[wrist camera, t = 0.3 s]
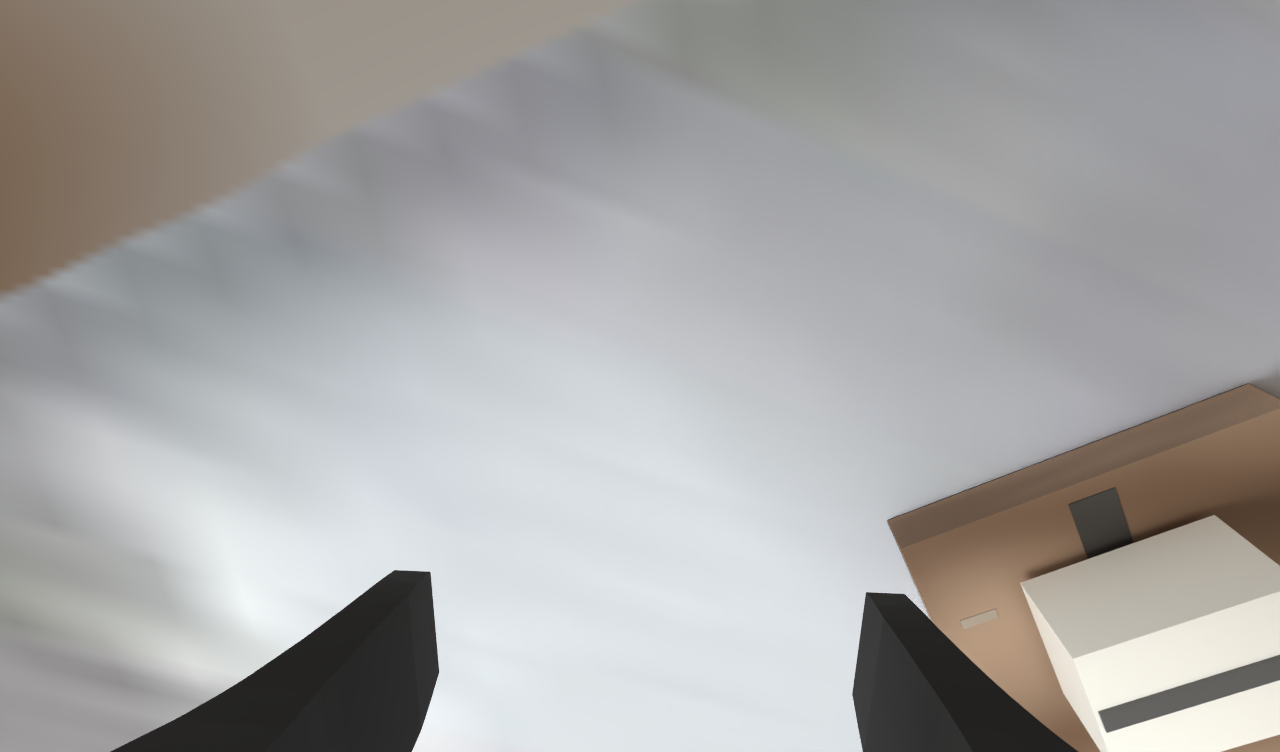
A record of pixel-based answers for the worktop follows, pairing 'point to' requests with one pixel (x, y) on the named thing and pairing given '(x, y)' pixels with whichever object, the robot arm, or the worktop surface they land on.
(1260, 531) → the console board
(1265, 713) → the fader tab
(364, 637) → the robot arm
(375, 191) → the worktop surface
